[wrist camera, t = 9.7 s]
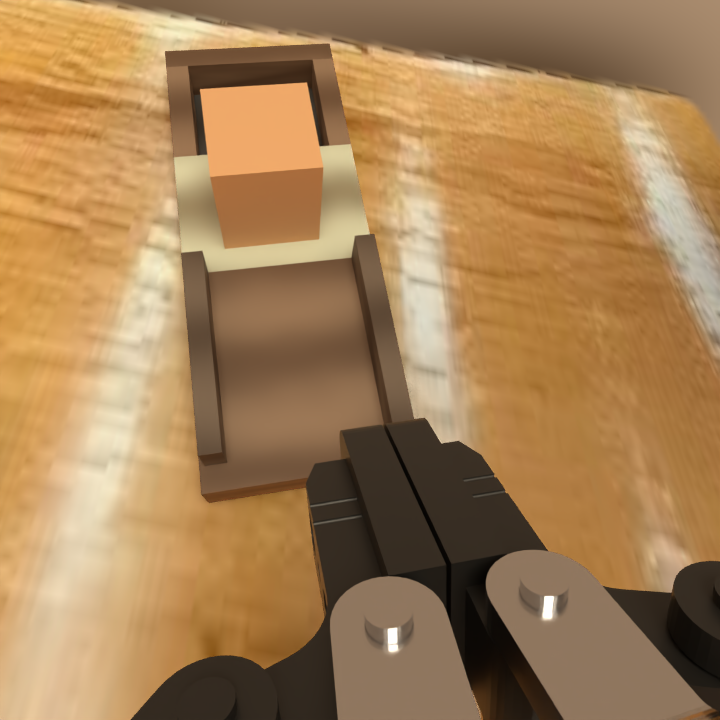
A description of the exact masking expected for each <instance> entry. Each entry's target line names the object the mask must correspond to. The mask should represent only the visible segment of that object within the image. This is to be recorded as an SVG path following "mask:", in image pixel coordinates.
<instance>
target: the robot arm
mask: <svg viewBox="0 0 720 720" xmlns="http://www.w3.org/2000/svg"><path fill="white" fill-rule="evenodd" d="M339 438H340V452H341V459H340V460H334V461H327V462H321V463H315V464H314V466H313V468H312V471H311V473H310V475H309V477H308V479H307V482H306V490H307V499H308V508H309V517H310V526H311V534H312V543H313V552H314V559H315V565H316V570H317V576H318V581H319V587H320V593H321V598H322V604H323V610H324V616H325V618H324V621H323V623H322V625H321V627H320V629H319V630H318V632H317V633H316V634H315V636H314V637H313V638H312V639H311V640H310V641H309V642H308V643H307V644H306V645H305V646H304V647H303V648H301V649H300V650H299V651H298V652H296V653H294V654H293V655H291V656H289V657H288V658H286V659H284V660H282V661H280V662H278V663H276V664H274V665H272V666H270V667H268V668H267V669H265V670H264V669H263V668H262V667H261V666H259V665H258V664H256V663H254V662H253V661H251V660H248V659H245V658H242V657H237V656H215V657H209V658H206V659H202V660H199V661H196V662H194V663H192V664H190V665H187V666H186V667H184V668H182V669H181V670H179V671H177V672H176V673H175V674H174V675H172V676H171V677H170V678H168V679H167V680H166V681H165V682H164V683H163V684H162V685H161V686H160V687H159V688H158V689H157V690H156V692H155V693H154V694H153V695H152V696H151V697H150V698H149V700H148V701H147V702H146V703H145V704H144V705H143V706H142V707H141V709H140V710H139V711H138V712H137V713H136V714H135V715H134V717H133V718H132V719H131V720H720V561H706V562H698V563H694V564H691V565H689V566H687V567H685V568H684V569H682V570H681V571H680V572H679V573H678V575H677V576H676V578H675V581H674V584H673V589H672V593H665V592H651V591H637V590H623V589H615V588H609V587H605V586H602V585H601V584H600V583H599V582H598V580H597V579H596V578H595V577H594V576H593V575H592V574H591V573H590V572H589V571H588V570H587V569H586V568H584V567H583V566H582V565H580V564H579V563H577V562H576V561H574V560H572V559H570V558H568V557H565V556H563V555H560V554H557V553H554V552H549V551H548V550H547V549H546V548H545V546H544V545H543V543H542V542H541V540H540V539H539V538H538V536H537V535H536V533H535V532H534V530H533V529H532V527H531V526H530V525H529V523H528V522H527V520H526V519H525V517H524V516H523V515H522V513H521V512H520V510H519V509H518V507H517V506H516V504H515V503H514V502H513V500H512V499H511V497H510V496H509V494H508V493H505V489H504V487H503V486H502V484H501V483H500V482H499V480H498V479H497V477H496V478H495V477H494V473H493V471H492V470H491V469H490V467H489V466H488V464H487V463H486V461H485V460H484V459H483V457H482V456H481V455H480V454H479V453H477V452H475V451H474V450H472V449H471V448H469V447H467V446H466V445H464V444H463V443H461V442H459V441H455V442H449V443H443V444H441V443H440V441H439V439H438V438H437V436H436V434H435V433H434V431H433V429H432V428H431V426H430V424H429V423H428V421H427V420H426V419H425V418H419V419H413V420H406V421H399V422H392V423H385V424H383V426H382V425H381V424H380V425H373V426H366V427H359V428H353V429H346V430H340V434H339ZM472 691H473V693H474V696H475V698H476V701H477V703H478V706H479V708H480V711H481V719H480V716H479V713H478V710H477V707H476V703H475V700H474V697H473V694H472Z"/></svg>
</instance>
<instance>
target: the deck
mask: <svg viewBox="0 0 720 720" xmlns="http://www.w3.org/2000/svg"><path fill="white" fill-rule="evenodd" d="M165 57H166V69H167V81H168V93H169V105H170V118H171V130H172V142H173V154H174V166H175V178H176V190H177V203H178V215H179V227H180V239H181V251H182V253H181V256H182V268H183V280H184V293H185V305H186V317H187V329H188V341H189V354H190V366H191V378H192V390H193V402H194V415H195V427H196V439H197V451H198V458H199V470H200V482H201V494H202V495H203V497H204V498H205V499H206V500H207V501H208V502H209V503H211V502H217V501H223V500H229V499H236V498H242V497H248V496H254V495H261V494H267V493H273V492H279V491H286V490H292V489H298V488H304V487H306V482H307V479H308V477H309V475H310V473H311V471H312V468H313V466H314V464H315V463H321V462H327V461H334V460H340V459H341V452H340V438H339V434H340V430H346V429H353V428H359V427H366V426H373V425H380V424H381V425H382V426H383V424H385V423H392V422H399V421H406V420H413V419H414V417H413V412H412V407H411V403H410V398H409V393H408V389H407V384H406V379H405V375H404V370H403V365H402V361H401V356H400V351H399V347H398V342H397V338H396V333H395V328H394V324H393V319H392V314H391V310H390V305H389V300H388V296H387V291H386V286H385V282H384V277H383V272H382V268H381V263H380V258H379V254H378V249H377V244H376V240H375V235H374V234H370V233H369V228H368V224H367V219H366V214H365V209H364V205H363V200H362V195H361V191H360V186H359V181H358V176H357V172H356V167H355V162H354V158H353V153H352V148H351V143H350V139H349V134H348V129H347V125H346V120H345V115H344V110H343V106H342V101H341V96H340V91H339V87H338V82H337V77H336V73H335V68H334V63H333V58H332V54H331V49H330V44H311V45H290V46H269V47H248V48H227V49H206V50H185V51H165ZM292 83H307V86H308V91H309V96H310V101H311V106H312V111H313V116H314V121H315V127H316V132H317V137H318V142H319V147H320V152H321V157H322V162H323V183H322V200H321V216H320V233H319V239H317V240H307V241H298V242H288V243H278V244H268V245H259V246H249V247H239V248H230V249H225V247H224V242H223V237H222V233H221V228H220V223H219V218H218V213H217V208H216V203H215V199H214V194H213V189H212V184H211V179H210V172H209V163H208V155H207V146H206V137H205V128H204V120H203V111H202V102H201V93H200V89H211V88H227V87H243V86H259V85H275V84H292Z"/></svg>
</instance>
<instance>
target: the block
mask: <svg viewBox="0 0 720 720" xmlns="http://www.w3.org/2000/svg"><path fill="white" fill-rule="evenodd" d="M200 93H201V102H202V111H203V120H204V128H205V137H206V146H207V155H208V163H209V172H210V179H211V184H212V189H213V194H214V199H215V203H216V208H217V213H218V218H219V223H220V228H221V233H222V237H223V242H224V247H225V249H230V248H239V247H249V246H259V245H268V244H278V243H288V242H298V241H307V240H317V239H319V233H320V216H321V200H322V183H323V162H322V157H321V152H320V147H319V142H318V137H317V132H316V127H315V121H314V116H313V111H312V106H311V101H310V96H309V91H308V86H307V83H292V84H275V85H259V86H243V87H227V88H211V89H200Z"/></svg>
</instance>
